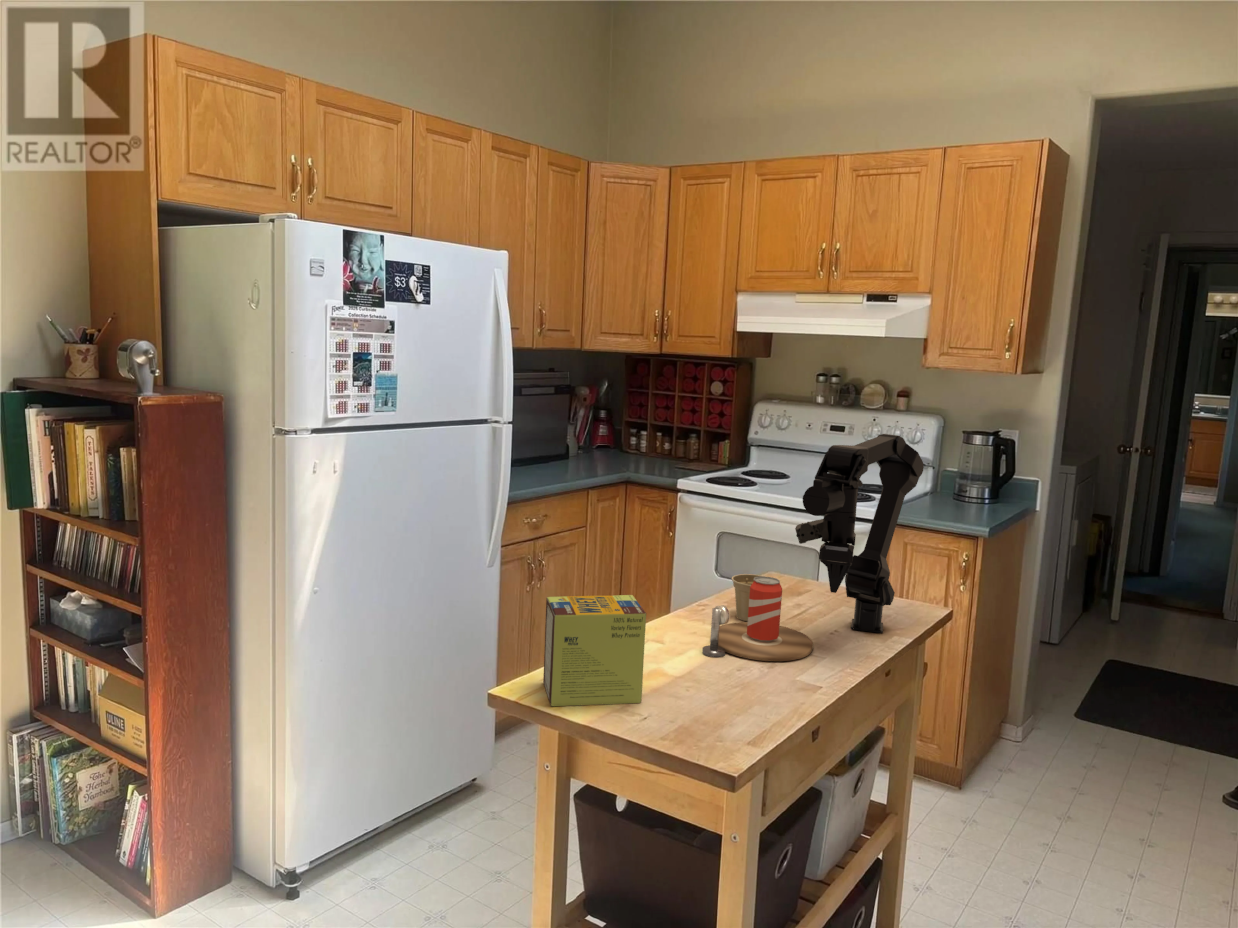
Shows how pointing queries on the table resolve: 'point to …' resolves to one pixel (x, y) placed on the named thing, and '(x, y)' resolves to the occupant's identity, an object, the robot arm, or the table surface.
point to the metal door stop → (716, 632)
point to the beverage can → (764, 609)
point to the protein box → (594, 650)
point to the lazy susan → (764, 644)
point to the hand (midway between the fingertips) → (834, 586)
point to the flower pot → (743, 593)
